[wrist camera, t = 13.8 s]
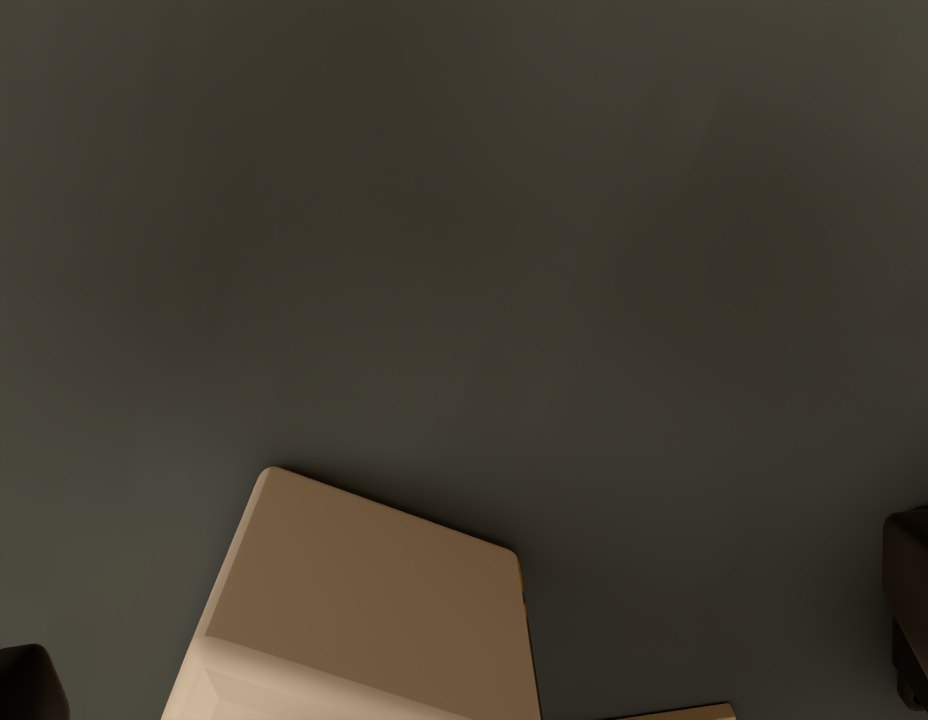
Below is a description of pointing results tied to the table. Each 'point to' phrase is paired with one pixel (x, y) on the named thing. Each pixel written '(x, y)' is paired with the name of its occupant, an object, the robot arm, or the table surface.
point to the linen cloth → (693, 714)
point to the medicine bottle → (356, 618)
